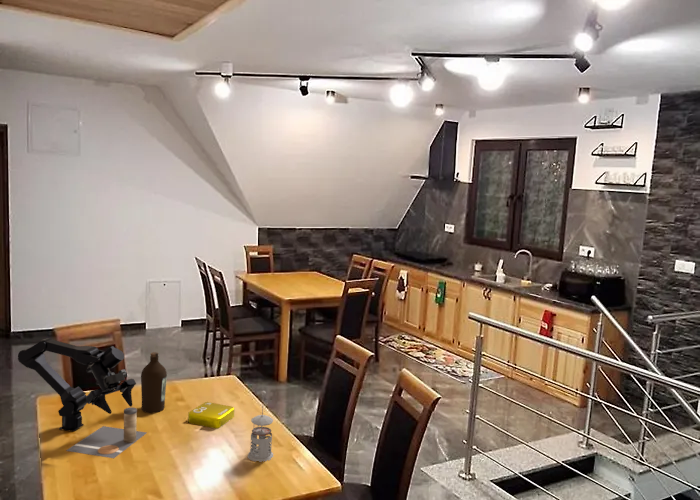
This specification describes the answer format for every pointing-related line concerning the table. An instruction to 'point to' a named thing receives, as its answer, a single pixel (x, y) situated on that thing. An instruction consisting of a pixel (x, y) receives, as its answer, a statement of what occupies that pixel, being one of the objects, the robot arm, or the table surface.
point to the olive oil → (153, 385)
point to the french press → (261, 438)
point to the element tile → (211, 415)
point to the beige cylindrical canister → (130, 424)
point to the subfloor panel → (104, 442)
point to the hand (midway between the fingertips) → (121, 409)
